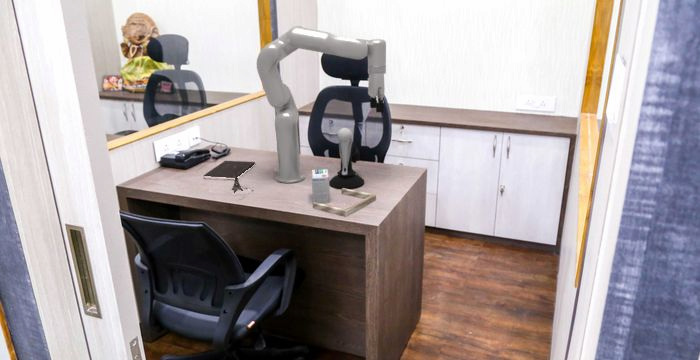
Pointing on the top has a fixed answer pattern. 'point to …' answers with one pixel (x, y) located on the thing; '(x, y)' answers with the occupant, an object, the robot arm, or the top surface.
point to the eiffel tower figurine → (236, 183)
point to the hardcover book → (230, 169)
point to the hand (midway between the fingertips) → (376, 109)
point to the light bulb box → (320, 186)
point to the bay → (345, 212)
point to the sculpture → (347, 163)
